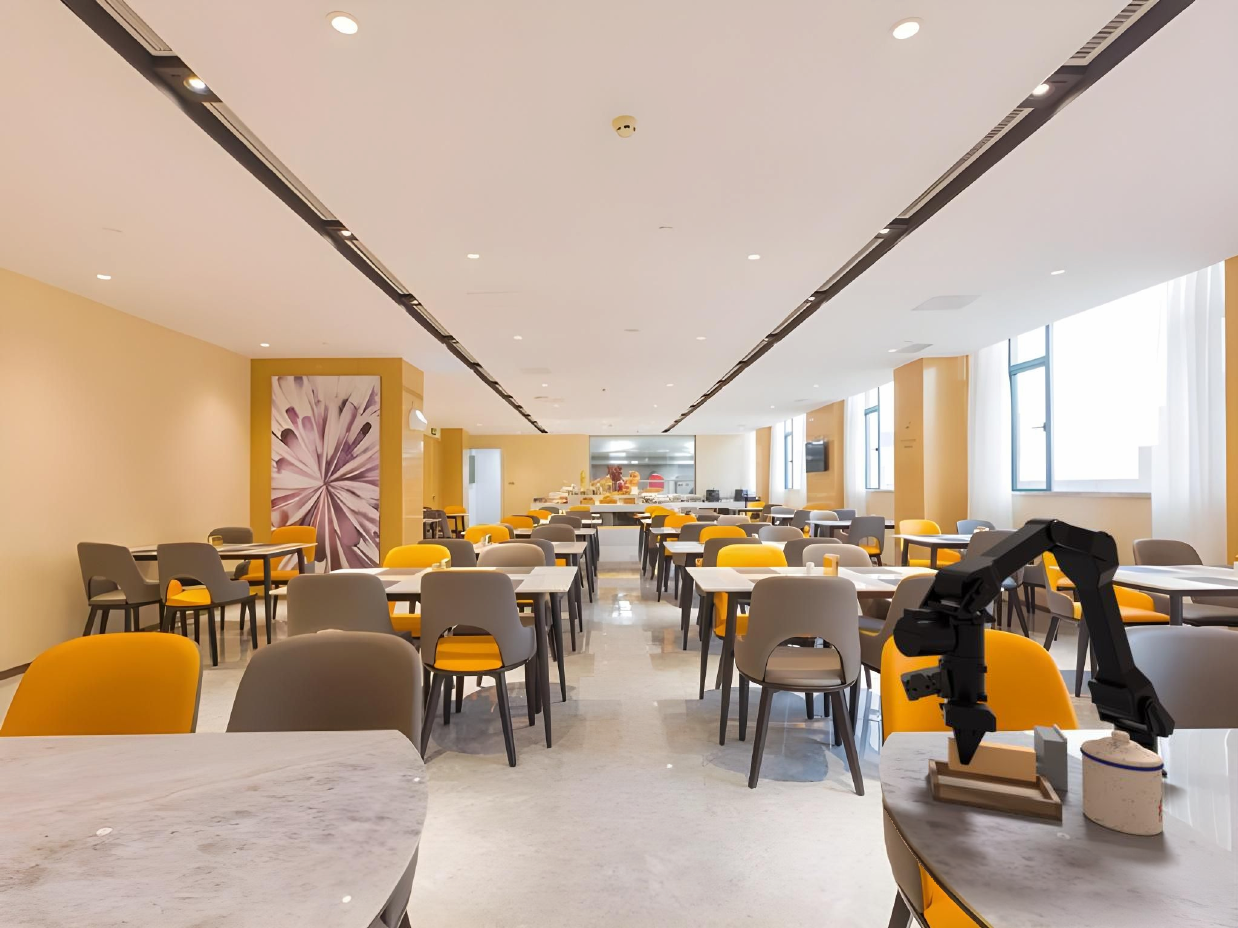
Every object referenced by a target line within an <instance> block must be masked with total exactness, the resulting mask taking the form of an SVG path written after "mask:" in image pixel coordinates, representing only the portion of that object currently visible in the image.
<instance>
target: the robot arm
mask: <svg viewBox="0 0 1238 928" xmlns="http://www.w3.org/2000/svg"><path fill="white" fill-rule="evenodd" d="M1046 552H1047V553H1049V554H1051V555H1053V557H1054V559H1055V562H1056V564H1057V567H1058V568H1059V571H1060V572H1061V573H1062V574H1063V575H1064V576H1065V577H1066V578H1067V579H1068V580H1069V581H1070V582H1071V584H1073V585H1074V587H1075V589H1076V593H1077V596H1078V600H1079V603H1080V606H1081V610H1082V614H1083V618H1084V621H1085V625H1086V628H1087V632H1088V636H1089V638H1090V639H1089V640H1090V642H1091V646H1092V651H1093V655H1094V656H1095V662H1096V664H1097V670H1096V672H1095V673H1094V674H1095V675H1094V676H1093V678H1092V679H1089V680H1088V681H1087V687H1088V690H1089V692H1090V697H1091V701H1090V702H1091V703H1092V704H1094V705H1095V707H1096V711H1097V714H1098V718H1099V721H1101V722H1103V723H1104V722H1106V723H1108V724H1111V725H1113V731H1114V730H1118V731H1123V732H1126V733H1128V734H1129V736H1130V740H1131V741H1134V742H1136V743H1137V744H1139V745H1140V746H1142V747H1143V748H1145V749H1148V750H1150V751H1152V752H1154V753H1156V754H1157V755H1158V756H1159V738H1170V737H1169V736H1172V735H1173V734H1174V732H1175V731H1174V730H1175V726H1176V722H1175V719H1174V718H1173V717H1172V716H1171V715H1170V713H1169V712H1168V711H1167V710H1166V708H1165V707H1164V706H1163V704H1162V703H1161V702H1160V699H1159V696H1158V693H1157V691H1156V689H1155V687H1154V685H1153V683H1152V681H1151V680H1150V679H1149V678H1148V677H1147V676H1146V675H1145V674H1144V672H1142V670H1141V669H1139V668H1138V667H1137V666H1136V663H1135V661H1134V656H1133V653H1132V650H1131V645H1130V642H1129V638H1128V635H1127V631H1126V628H1125V627H1126V626H1125V623H1124V621H1123V617H1122V613H1121V609H1120V605H1119V602H1118V599H1117V596H1116V590H1115V589H1114V584H1113V579H1114V577H1115V575H1116V572H1117V570H1118V568H1119V566H1120V562H1119V561H1120V560H1119V554H1118V546H1117V543H1116V540H1115V538H1114V537H1113V535H1112V534H1110V533H1108V532H1106V531H1104V530H1091V529H1087V528H1084V527H1081V526H1076V525H1073V524H1070V523H1067V522H1065V521H1062V520H1059V519H1058V518H1040V517H1039V518H1038V517H1035V518H1031V519H1029V520H1027V521H1026V522H1024V525H1023V526H1022V527H1020V528H1018V529H1017V530H1016V531H1014V532H1013V533H1011V534H1010V535H1008V536H1006V537H1005V538H1003V540H1002V539H1001V540H1000V542H998V543H996V544H995V545H993V546H992V547H991V548H989V549H987V550H986V551H985V552H983V553H982V554H980V555H978V556H976V557H975V556H974V557H973V558H968V559H964V560H958V561H956V562H953V563H951V564H948V565H946V566H943V567H942V568H940V569H938V571H937V572H936V573H935V574H934V580H933V582H932V583H931V585H930V587H929V589H928V590H927V592H926V594H925V596H924V597H923V599H922V601H921V602H920V604H919V606H918V609H917V608H912V607H906V608H903V616H902V617H900V618H899V619H898V620H897V621H896V623H895V626H894V628H893V630H892V637H893V641H894V644H895V647H896V649H897V650H898V652H899V653H900V654H901V655H903V656H904V657H906V658H919V657H921V658H922V657H937V656H940V657H938V659H937V665H936V666H935V665H934V666H930V667H928V666H927V667H924V668H920V669H916V670H911V671H907V672H903V673H901V674H900V682H901V685H902V687H903V690H904V692H905V694H906V695H905V696H906V697H907V700H908V701H910V702H915V701H919V700H920V699H922V698H927V697H932V696H935V695H936V697H937V698H941V699H944V702H938V706H939V709H940V710H941V712H942V714H941V716H942V719H943V722H944V725H945V726H946V727H949V728H951V730H952V733H953V734H952V735H953V738H955V740H956V745H957V750H958V755H959V760H960V763H961V764H962V765H969V764H970V762H971V760H972V758H973V756H974V754H975V752H976V750H977V748H978V746H979V744H980V742H981V741H982V740H983V739H984V737H985V736H986V734H987V733H996V732H997V717H996V714H995V713H994V711H993V710H992V709H991V707H989V706H988V705H987V704H986V703H988V694H987V692H986V674H988V666H987V664H986V653H985V652H986V645H985V643H986V642H985V639H986V637H985V635H986V634H985V633H986V632H985V629H986V628H985V627H986V626H985V625H986V624H996V623H997V618H996V617H995V616H993V615H992V613H990V611H988V610H987V607H988V606H989V605H990V604H991V603H993V601H995V599H996V598H997V597H998V596H999V595H1000V594H1001V592H1002V587H1003V584H1004V582H1005V581H1006V580H1007V579H1009V578H1010V577H1011V576H1013V575H1014V574H1016V573H1018V572H1019V571H1020V570H1021V569H1023V568H1024V567H1026V566H1027V565H1028V564H1030V563H1032V562H1033V561H1035V560H1036V559H1037V558H1039V557H1040V556H1041V555H1043V554H1045V553H1046ZM1162 776H1166V777H1167V776H1168V771H1166V770H1165V769H1164V767H1163V768H1162Z"/></svg>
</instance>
